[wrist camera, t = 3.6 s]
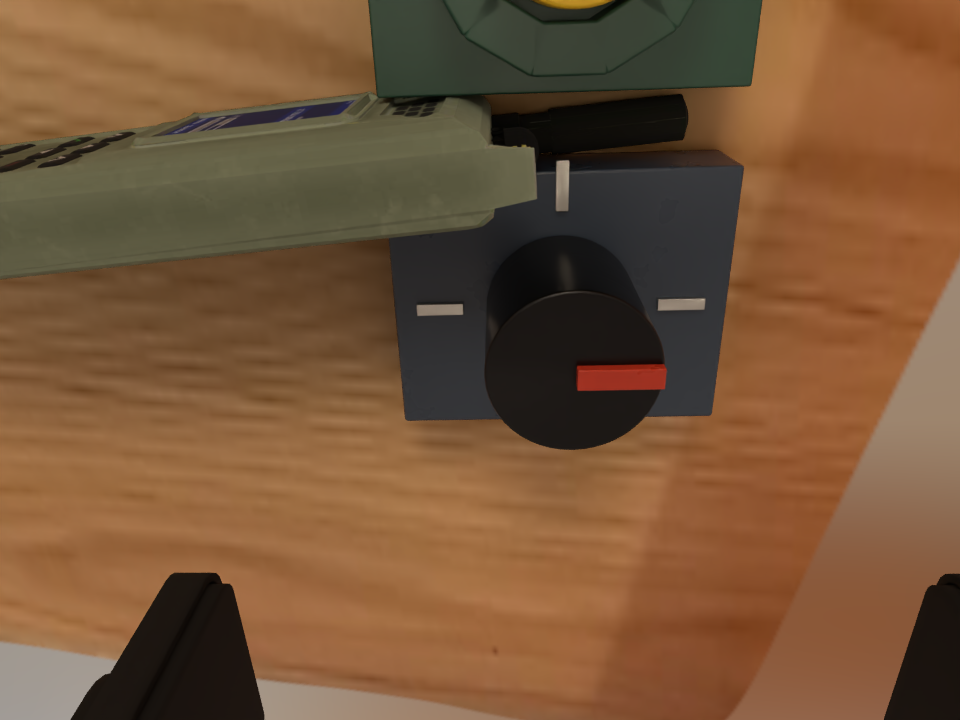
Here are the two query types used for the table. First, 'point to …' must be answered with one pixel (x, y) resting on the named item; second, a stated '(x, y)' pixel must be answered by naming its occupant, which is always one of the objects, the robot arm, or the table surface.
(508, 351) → the knob
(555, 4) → the yellow push button
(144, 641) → the robot arm
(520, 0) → the green button base
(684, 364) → the nozzle panel
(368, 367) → the table surface
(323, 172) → the handheld radio
